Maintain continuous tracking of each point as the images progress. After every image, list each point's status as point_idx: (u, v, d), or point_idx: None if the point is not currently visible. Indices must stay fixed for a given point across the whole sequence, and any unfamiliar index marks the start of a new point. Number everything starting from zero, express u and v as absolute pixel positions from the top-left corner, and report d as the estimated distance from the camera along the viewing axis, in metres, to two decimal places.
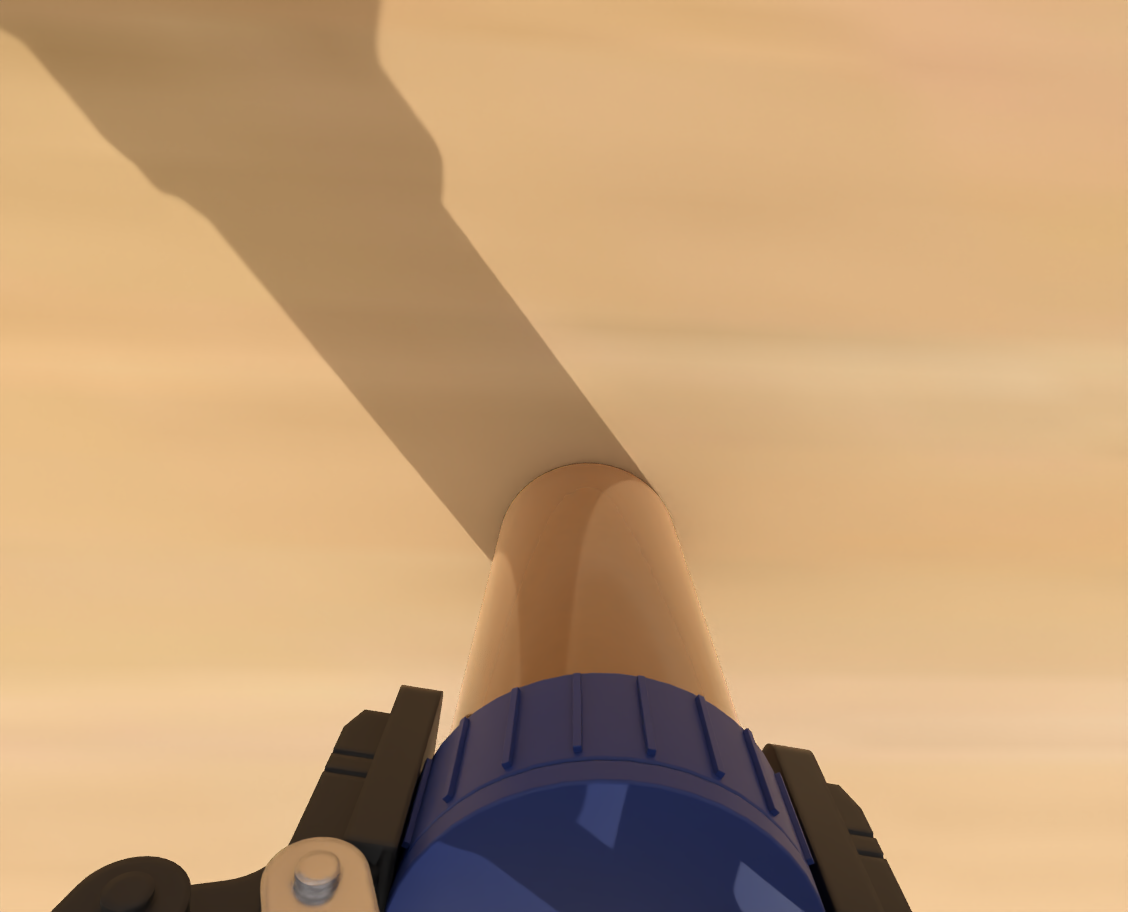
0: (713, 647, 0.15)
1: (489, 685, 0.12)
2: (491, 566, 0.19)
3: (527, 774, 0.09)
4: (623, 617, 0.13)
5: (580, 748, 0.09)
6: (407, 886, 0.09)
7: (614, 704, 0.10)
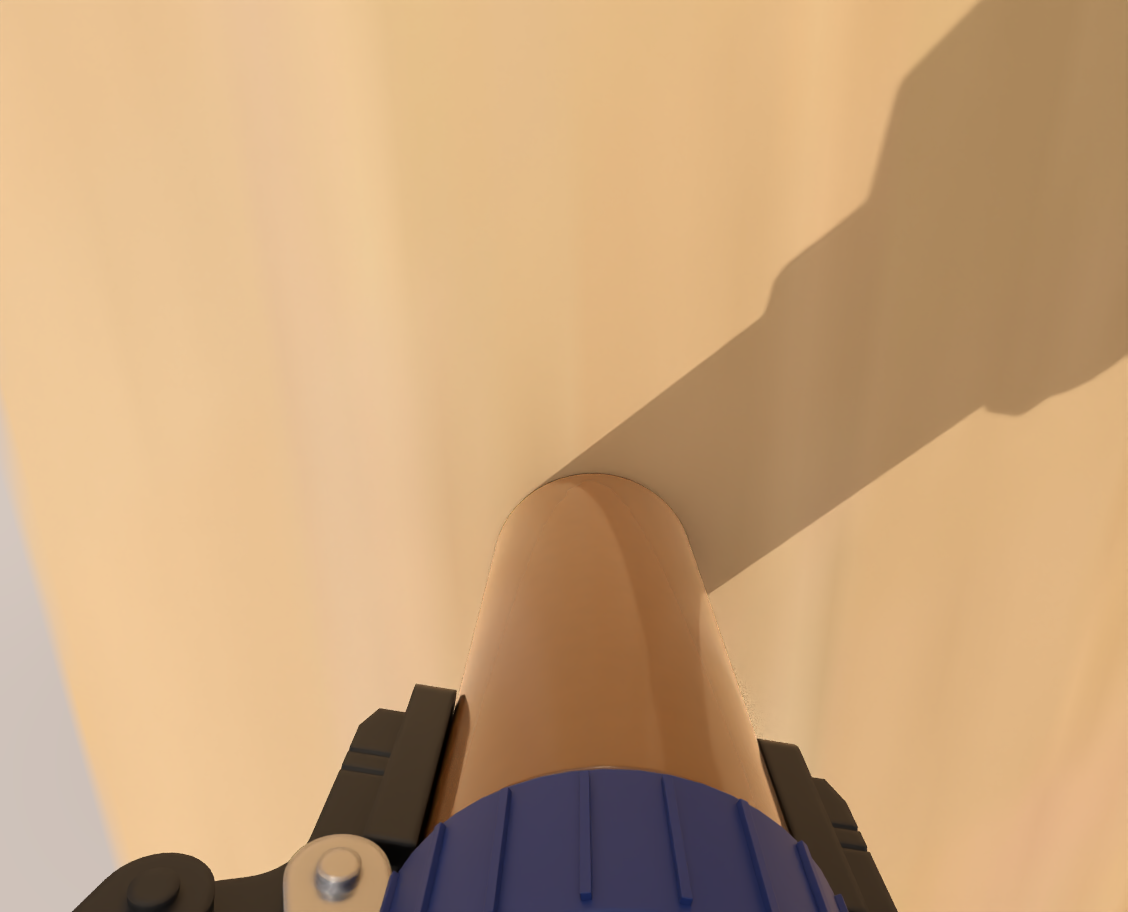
0: None
1: (748, 772, 0.10)
2: (627, 522, 0.17)
3: None
4: None
5: (590, 896, 0.07)
6: None
7: (632, 817, 0.08)
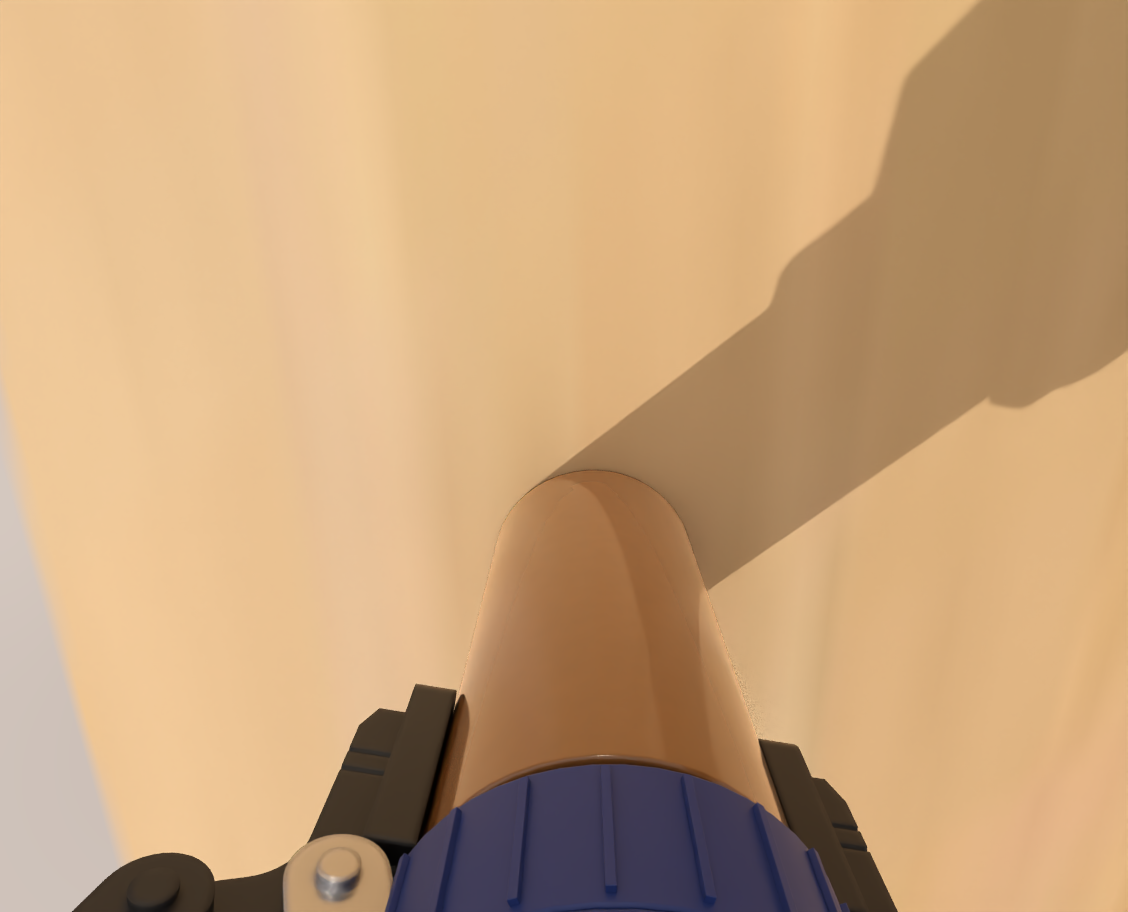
0: None
1: (746, 762, 0.10)
2: (627, 518, 0.17)
3: None
4: None
5: None
6: None
7: None
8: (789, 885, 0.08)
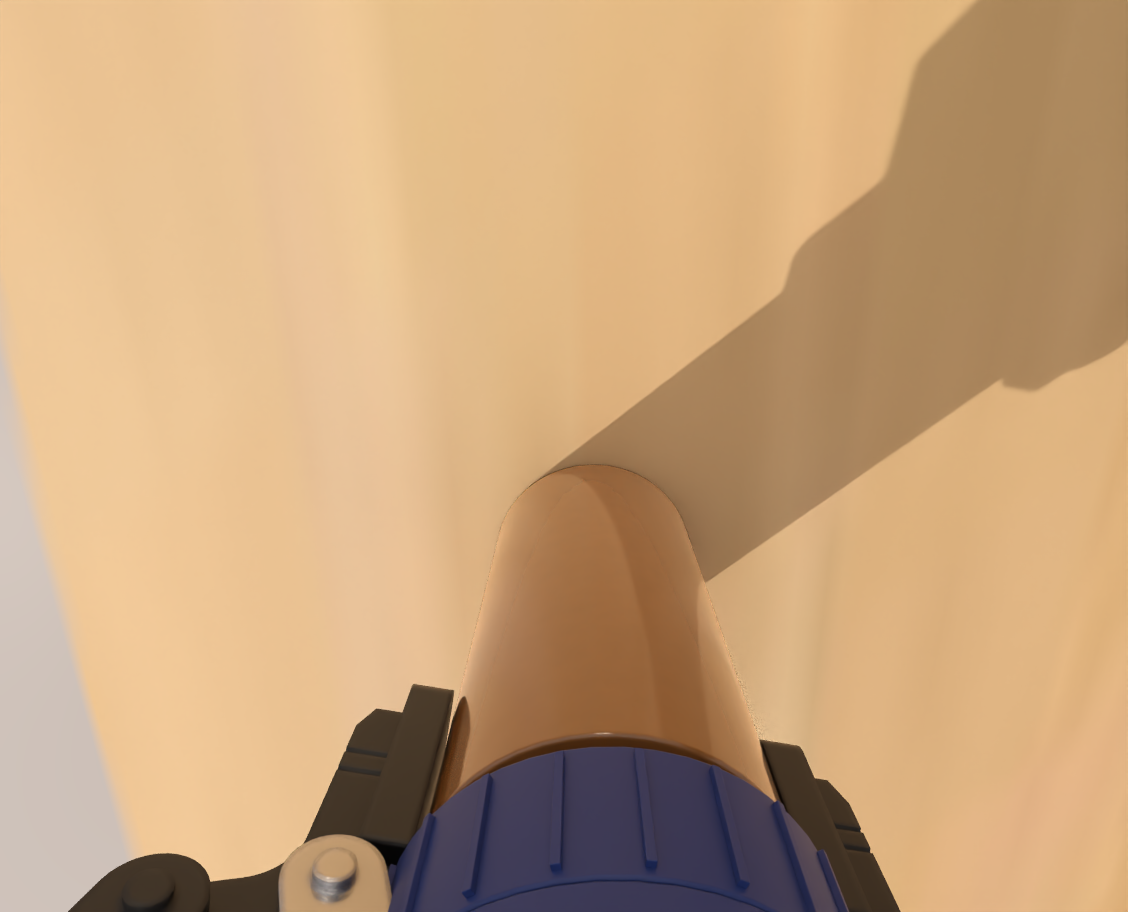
0: None
1: (741, 741, 0.11)
2: (627, 510, 0.17)
3: None
4: None
5: None
6: None
7: None
8: (420, 880, 0.08)
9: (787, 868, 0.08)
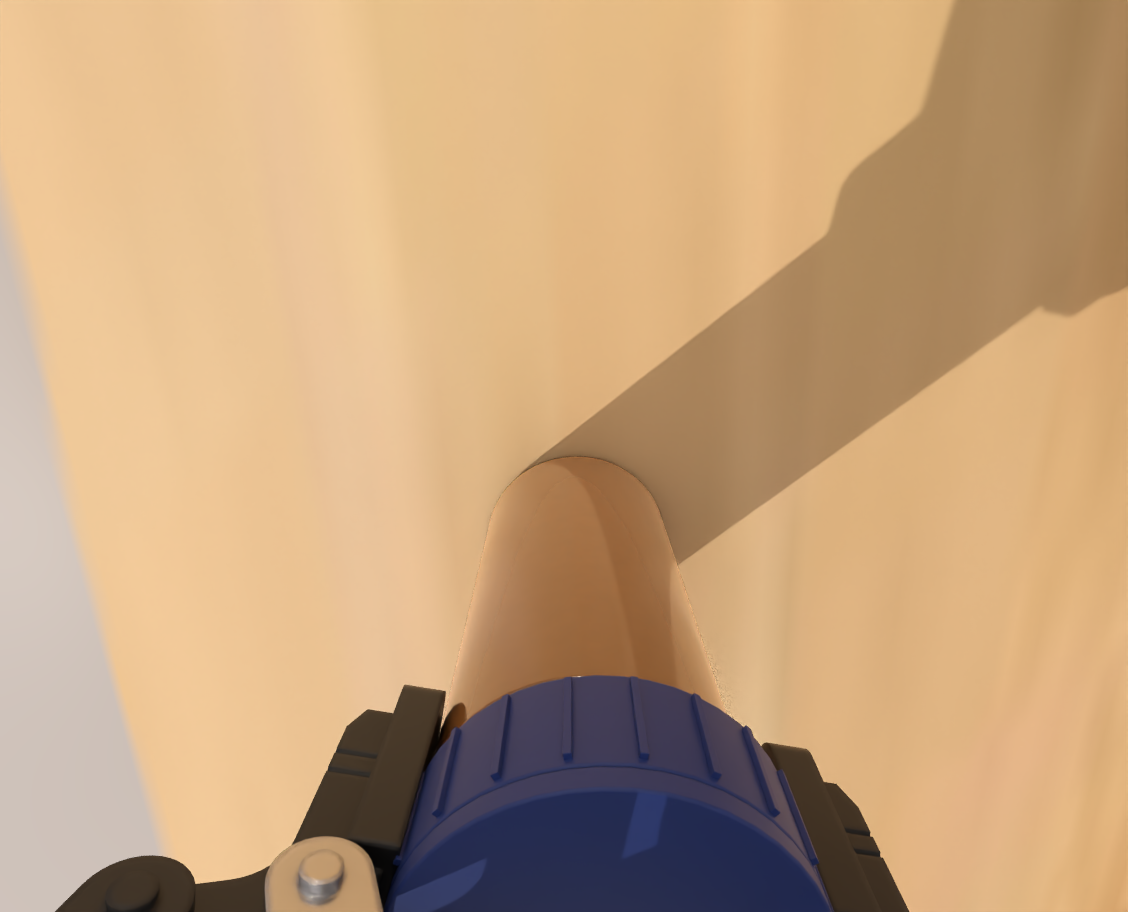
0: None
1: (697, 683, 0.12)
2: (603, 496, 0.19)
3: None
4: None
5: None
6: (775, 854, 0.09)
7: None
8: None
9: (436, 790, 0.10)
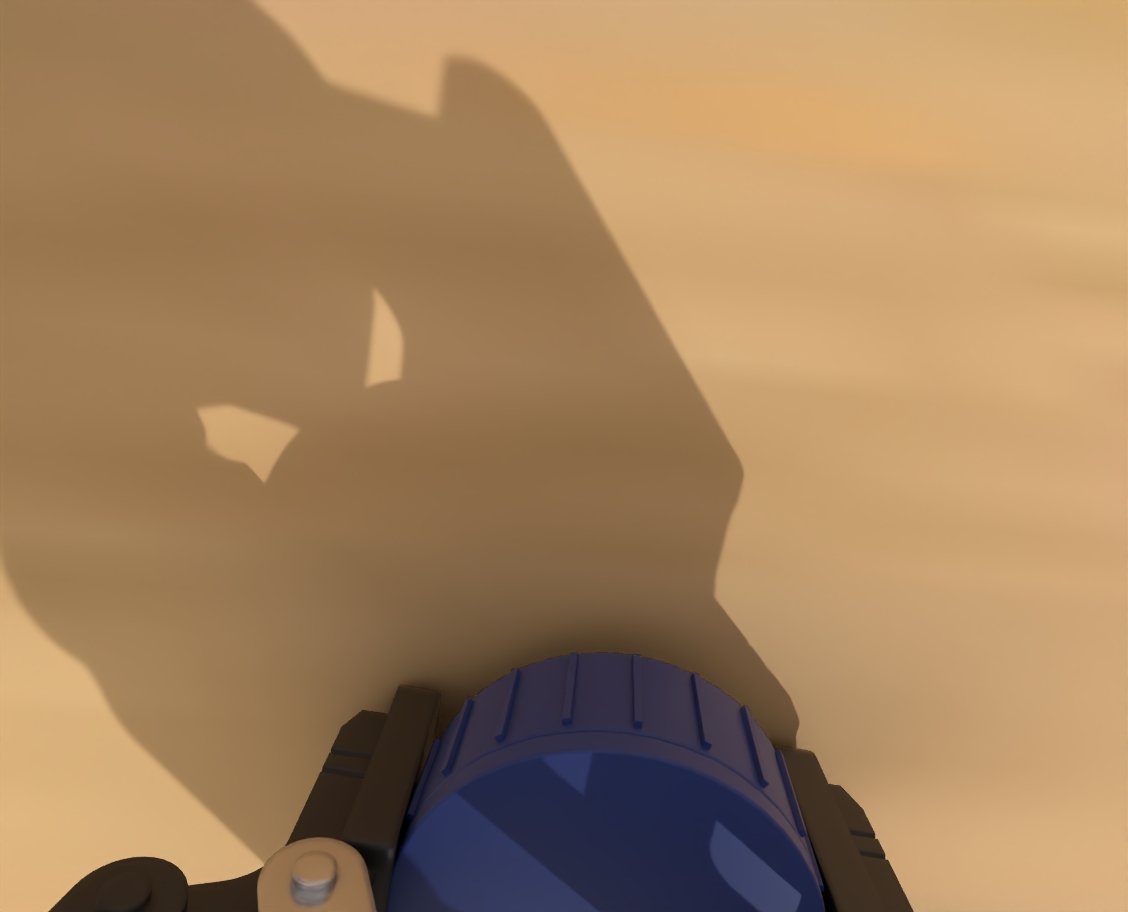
0: None
1: None
2: None
3: None
4: None
5: None
6: (760, 820, 0.09)
7: None
8: None
9: None
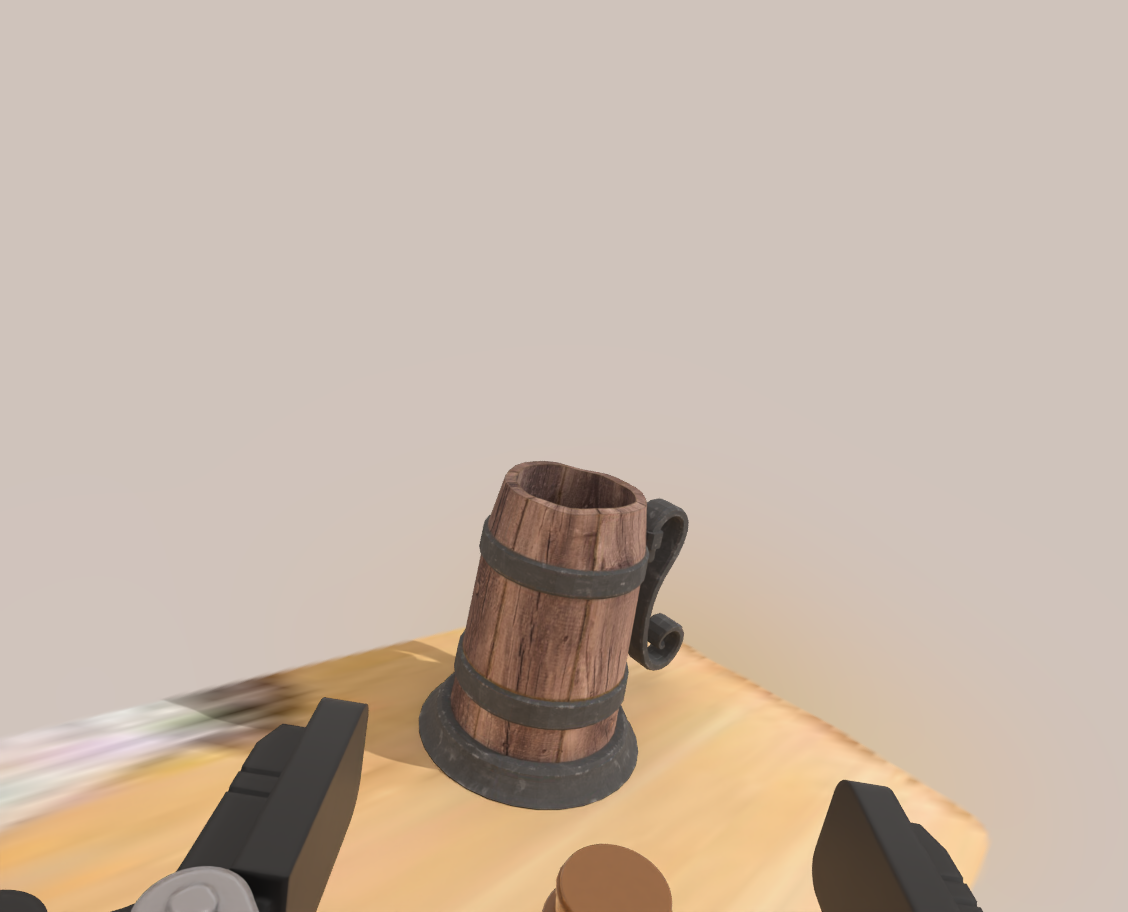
0: None
1: None
2: None
3: None
4: None
5: None
6: None
7: None
8: None
9: None
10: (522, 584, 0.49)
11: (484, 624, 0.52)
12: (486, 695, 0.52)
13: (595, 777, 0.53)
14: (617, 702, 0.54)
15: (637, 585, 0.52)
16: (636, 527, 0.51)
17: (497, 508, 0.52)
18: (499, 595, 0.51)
